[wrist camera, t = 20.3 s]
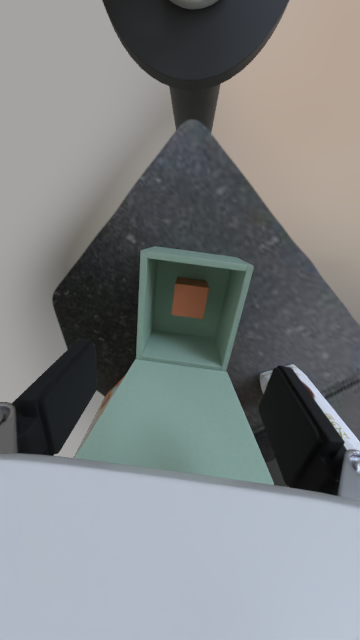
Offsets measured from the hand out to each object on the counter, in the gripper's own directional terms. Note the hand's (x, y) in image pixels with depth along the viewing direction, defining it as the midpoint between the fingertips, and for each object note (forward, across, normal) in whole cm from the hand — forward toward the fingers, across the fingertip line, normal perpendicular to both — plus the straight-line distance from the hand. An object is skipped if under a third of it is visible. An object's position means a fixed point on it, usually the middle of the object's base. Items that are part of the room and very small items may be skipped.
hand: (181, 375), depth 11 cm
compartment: (+26, -1, +4) cm, 26 cm away
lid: (+8, -1, +9) cm, 12 cm away
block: (+25, -1, +3) cm, 25 cm away
